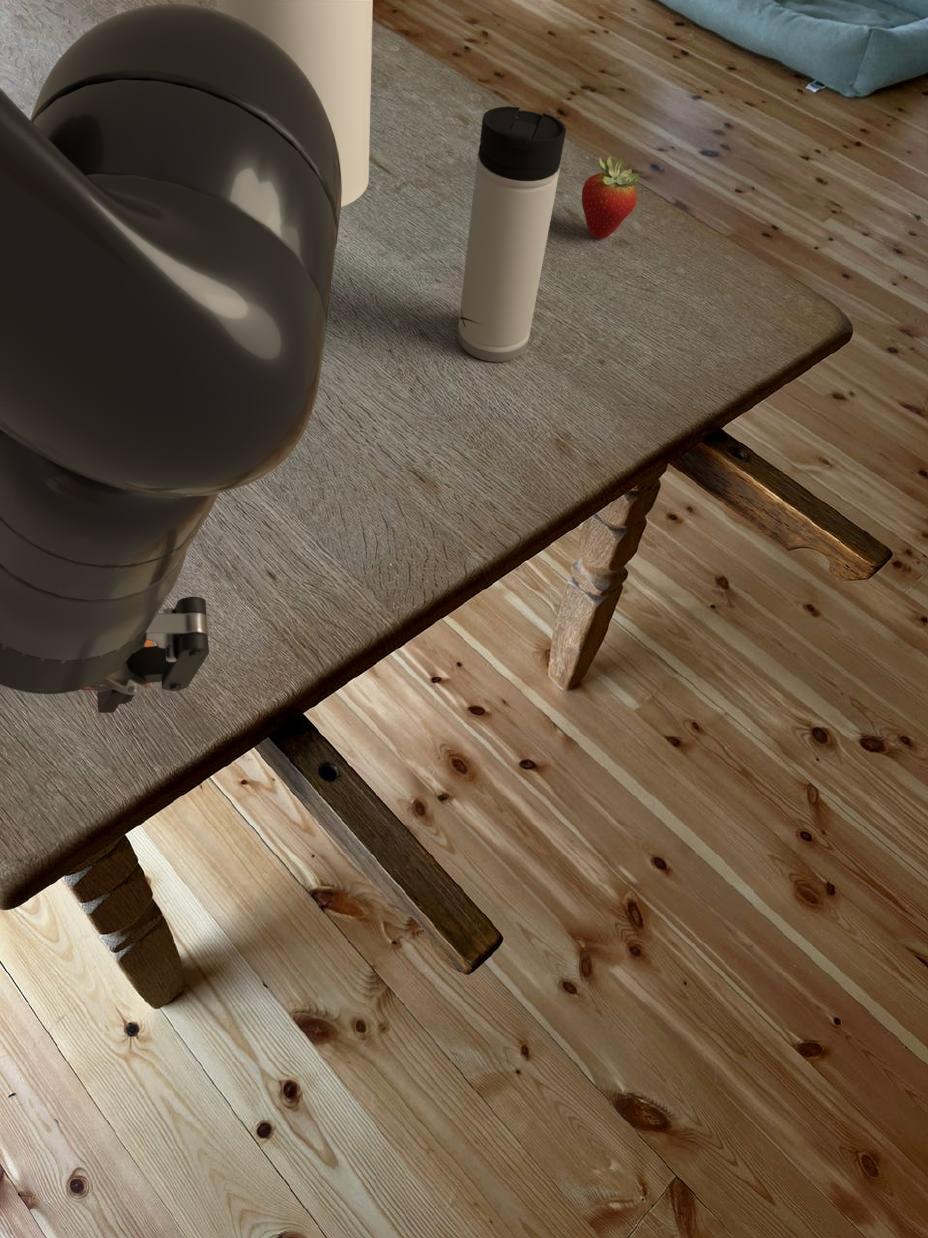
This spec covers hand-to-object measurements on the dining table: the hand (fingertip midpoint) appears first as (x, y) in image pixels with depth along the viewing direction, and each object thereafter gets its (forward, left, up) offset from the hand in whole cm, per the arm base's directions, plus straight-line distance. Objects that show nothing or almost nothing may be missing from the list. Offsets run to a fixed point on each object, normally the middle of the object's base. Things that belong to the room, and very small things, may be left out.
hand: (12, 694), depth 49 cm
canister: (+15, +69, -13) cm, 72 cm away
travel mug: (+31, +43, -13) cm, 55 cm away
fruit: (+44, +59, -13) cm, 75 cm away
